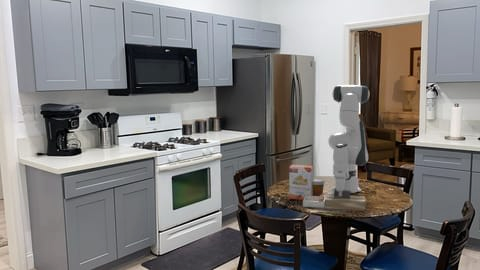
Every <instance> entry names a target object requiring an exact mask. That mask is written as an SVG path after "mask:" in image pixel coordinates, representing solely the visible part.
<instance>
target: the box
mask: <svg viewBox="0 0 480 270" xmlns="http://www.w3.org/2000/svg"><path fill="white" fill-rule="evenodd" d="M319 197H320V196H307V195H305V198H304V200H302V207H304V208H317V209H326V208H325V198H326V195H324V200H323V202H320V201H319Z"/></svg>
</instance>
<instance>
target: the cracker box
mask: <svg viewBox="0 0 480 270" xmlns="http://www.w3.org/2000/svg"><path fill="white" fill-rule="evenodd" d="M288 170H289V171H288V173H289V176H288V177H289V181H288V182H289V189H288V191H289V195H288V197H289V199H290V200H296V201H297V200H300V201H303V200H304V198H305V195H307V196H313V186H312V181H314V173H315V172H314V171H315V169H314V165H304V164H303V165H302V164H301V165H300V164H291V165H290V166H289V169H288Z"/></svg>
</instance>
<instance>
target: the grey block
mask: <svg viewBox="0 0 480 270" xmlns="http://www.w3.org/2000/svg"><path fill="white" fill-rule="evenodd" d="M332 188H333V187H332ZM331 190H332V189H331ZM331 194H332V195H331V198H334V196H337V197H343V198H349V199H350V195H351V191H348V190H343V191H342V196H339V192H338V191H336V188H333V190H332V191H331Z"/></svg>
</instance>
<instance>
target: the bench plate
mask: <svg viewBox="0 0 480 270" xmlns="http://www.w3.org/2000/svg"><path fill="white" fill-rule="evenodd" d="M331 195H332V193H328V194H327V193H326V195H325V197H326V198H325V208H324V209H331V210H332V209H333V210H348V211H364V212H365V211H366V196H365V195H351V194H350V199H349V198H343V197H337V196H334V198H331Z"/></svg>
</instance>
